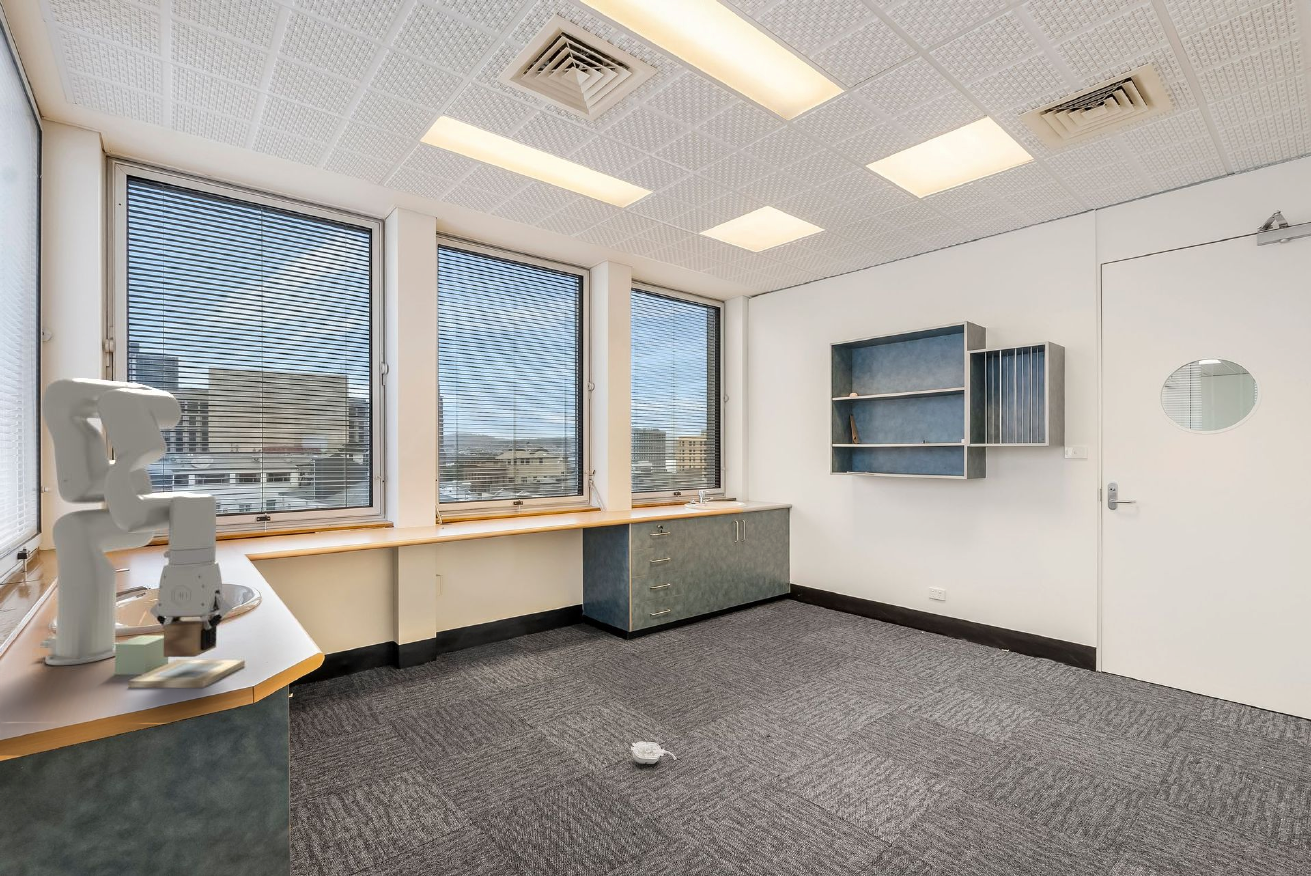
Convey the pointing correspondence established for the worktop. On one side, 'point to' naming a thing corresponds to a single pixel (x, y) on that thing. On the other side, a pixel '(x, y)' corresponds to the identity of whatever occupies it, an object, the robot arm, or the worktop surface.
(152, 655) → the sage cube
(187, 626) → the walnut cube
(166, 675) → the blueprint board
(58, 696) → the worktop surface
